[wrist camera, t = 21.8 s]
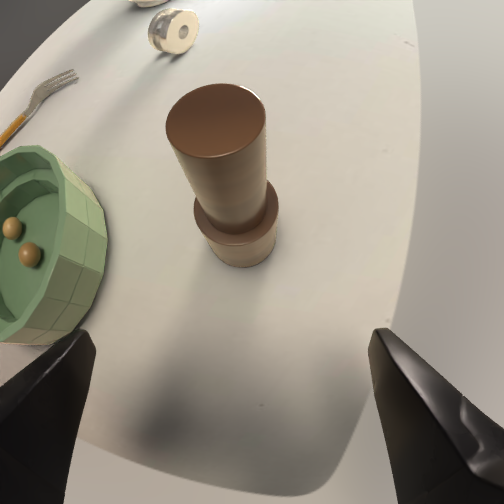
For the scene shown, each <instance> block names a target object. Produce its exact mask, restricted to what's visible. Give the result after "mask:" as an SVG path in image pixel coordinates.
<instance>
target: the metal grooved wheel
mask: <svg viewBox="0 0 504 504" xmlns="http://www.w3.org/2000/svg"><path fill="white" fill-rule="evenodd" d="M198 30H199V20H198V17H197V15H196V14H195V13H194V12H193V11H191V10H183V9H179V10H177V9H172V8H169V9H164V10H162V11H160V12H159V13H157V14H156V15H155V16H154V18H153V19H152V21H151V23H150V25H149V28H148V40H149V43H150V45H151V46H152V47H153V48H154V49H156V50H158V51H166V52H169V53H174V54H182V53H184V52H186V51H187V50H188V49H189V48H190V47H191V46H192V45H193V43H194V42H195V40H196V37H197V35H198Z"/></svg>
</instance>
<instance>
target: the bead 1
mask: <svg viewBox="0 0 504 504" xmlns="http://www.w3.org/2000/svg"><path fill="white" fill-rule="evenodd" d="M21 233H22V223H21V221H20V220H19V219H18V218H16V217H9V218H7V219H6V220H5V222H4V224H3V234H4V236H5V237H6V238H7V239H9V240H15V239H17V238H18V237H19V236H20V235H21Z"/></svg>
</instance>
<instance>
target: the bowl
mask: <svg viewBox="0 0 504 504" xmlns="http://www.w3.org/2000/svg"><path fill="white" fill-rule="evenodd" d="M9 217H16V218H18V219H19V220H20V221H21V223H22V233H21V235H20V236H19V237H18V238H17V239H15V240H9V239H7V238H6V237H5V236H4V234H3V224H4V222H5V220H6V219H7V218H9ZM27 242H32V243H35V244H36V245H37V246H38V247H39V249H40V253H41V257H40V261H39V262H38V264H37V265H36V266H34V267H31V268H28V267H25V266H24V265H22V264H21V262H20V260H19V256H18V254H19V249H20V247H21V246H22V245H23V244H24V243H27ZM107 242H108V239H107V233H106V227H105V220H104V213H103V210H102V208H101V206H100V204H99V202H98V201H97V199H96V197H95V195H94V193H93V192H92V190H91V189H90V187H88V186H87V185H86V184H85V183H84V182H83V181H82V180H81V179H80V178H79V177H78V176H77V175H75V174H74V173H73V172H72V171H71V170H70V169H69V168H68V167H67V166H66V165H65V164H64V163H63V162H62V161H61V160H60V159H59V158H58V157H56V156H55V155H54V154H52V153H51V152H49V151H48V150H46V149H45V148H43V147H41V146H39V145H33V146H20V147H17V148H15V149H13V150H11V151H10V152H8V153H6V154H4V155H2V156H0V344H16V345H50V344H52V343H54V342H55V341H57V340H59V339H60V338H62V337H64V336H65V335H67V334H69V333H71V332H72V331H73V329H74V328H75V327H76V325H77V324H78V323H79V321H80V320H81V319H82V318H83V316H84V315H85V314H86V312H87V311H88V310H89V309H90V307H91V305H92V303H93V300H94V297H95V295H96V292H97V290H98V287H99V284H100V282H101V279H102V277H103V274H104V265H105V257H106V249H107Z"/></svg>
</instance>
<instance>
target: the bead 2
mask: <svg viewBox="0 0 504 504" xmlns="http://www.w3.org/2000/svg"><path fill="white" fill-rule="evenodd" d="M18 256H19V260H20V262H21V264H22V265H24V266H25V267H28V268H31V267H34V266H36V265H37V264H38V262H39V261H40V257H41V253H40V249H39V247H38V246H37V245H36V244H35V243H32V242H27V243H24V244H23V245H22V246H21V247H20V249H19V254H18Z"/></svg>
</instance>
